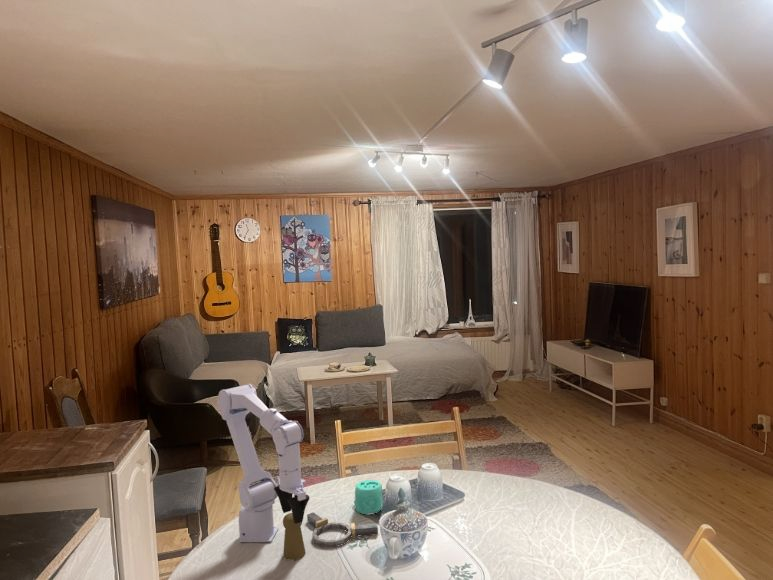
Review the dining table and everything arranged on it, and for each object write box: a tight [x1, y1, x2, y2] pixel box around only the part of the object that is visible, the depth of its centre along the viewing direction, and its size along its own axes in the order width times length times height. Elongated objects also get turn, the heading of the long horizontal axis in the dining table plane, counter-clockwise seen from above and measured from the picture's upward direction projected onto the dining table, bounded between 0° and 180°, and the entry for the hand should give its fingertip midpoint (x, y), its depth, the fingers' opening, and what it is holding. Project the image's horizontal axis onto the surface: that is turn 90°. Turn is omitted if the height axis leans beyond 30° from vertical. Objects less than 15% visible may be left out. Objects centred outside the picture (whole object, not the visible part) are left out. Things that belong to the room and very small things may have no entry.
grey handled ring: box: [306, 512, 379, 548], centre depth 163 cm, size 22×16×3 cm
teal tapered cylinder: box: [354, 479, 383, 515], centre depth 177 cm, size 8×8×8 cm
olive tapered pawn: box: [282, 512, 307, 561], centre depth 152 cm, size 6×6×11 cm
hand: (292, 516), depth 152 cm, fingers open, 7 cm apart
